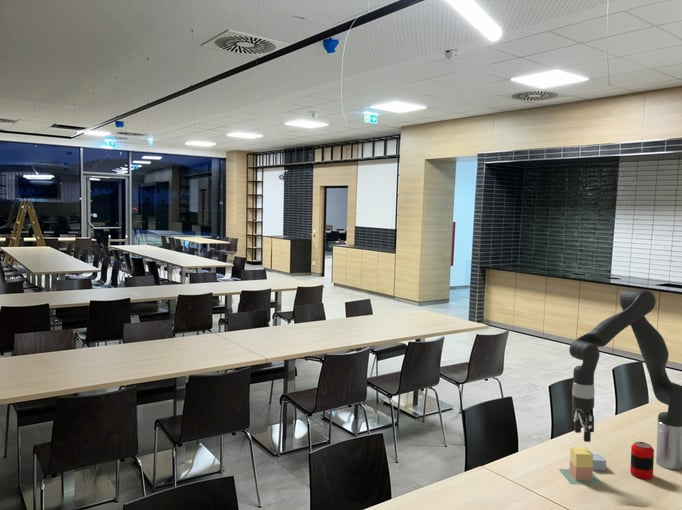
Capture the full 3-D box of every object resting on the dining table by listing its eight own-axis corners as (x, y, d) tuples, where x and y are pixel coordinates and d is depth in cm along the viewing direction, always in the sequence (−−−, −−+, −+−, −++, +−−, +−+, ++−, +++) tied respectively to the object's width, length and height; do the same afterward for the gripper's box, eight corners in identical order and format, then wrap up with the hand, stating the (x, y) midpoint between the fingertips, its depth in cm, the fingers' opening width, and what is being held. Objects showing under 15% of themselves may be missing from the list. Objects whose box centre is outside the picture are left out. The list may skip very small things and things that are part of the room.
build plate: (590, 472, 205) (590, 469, 205) (603, 487, 193) (604, 485, 193) (558, 471, 206) (558, 468, 206) (570, 486, 194) (570, 484, 194)
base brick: (585, 473, 202) (585, 460, 202) (592, 480, 196) (592, 467, 196) (569, 472, 203) (569, 460, 202) (575, 480, 197) (576, 467, 196)
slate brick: (598, 466, 211) (599, 453, 211) (605, 473, 205) (606, 460, 205) (583, 465, 211) (583, 453, 211) (590, 472, 205) (590, 460, 205)
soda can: (650, 472, 206) (651, 442, 205) (655, 481, 198) (656, 450, 198) (628, 469, 208) (629, 439, 207) (632, 478, 201) (633, 447, 200)
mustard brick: (586, 460, 202) (586, 447, 202) (592, 467, 196) (593, 454, 196) (570, 460, 202) (570, 447, 202) (576, 467, 196) (576, 454, 196)
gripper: (602, 400, 190) (600, 444, 191) (585, 388, 204) (584, 429, 205) (580, 400, 191) (579, 444, 192) (565, 388, 205) (565, 429, 206)
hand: (582, 436), depth 199 cm, fingers open, 8 cm apart
